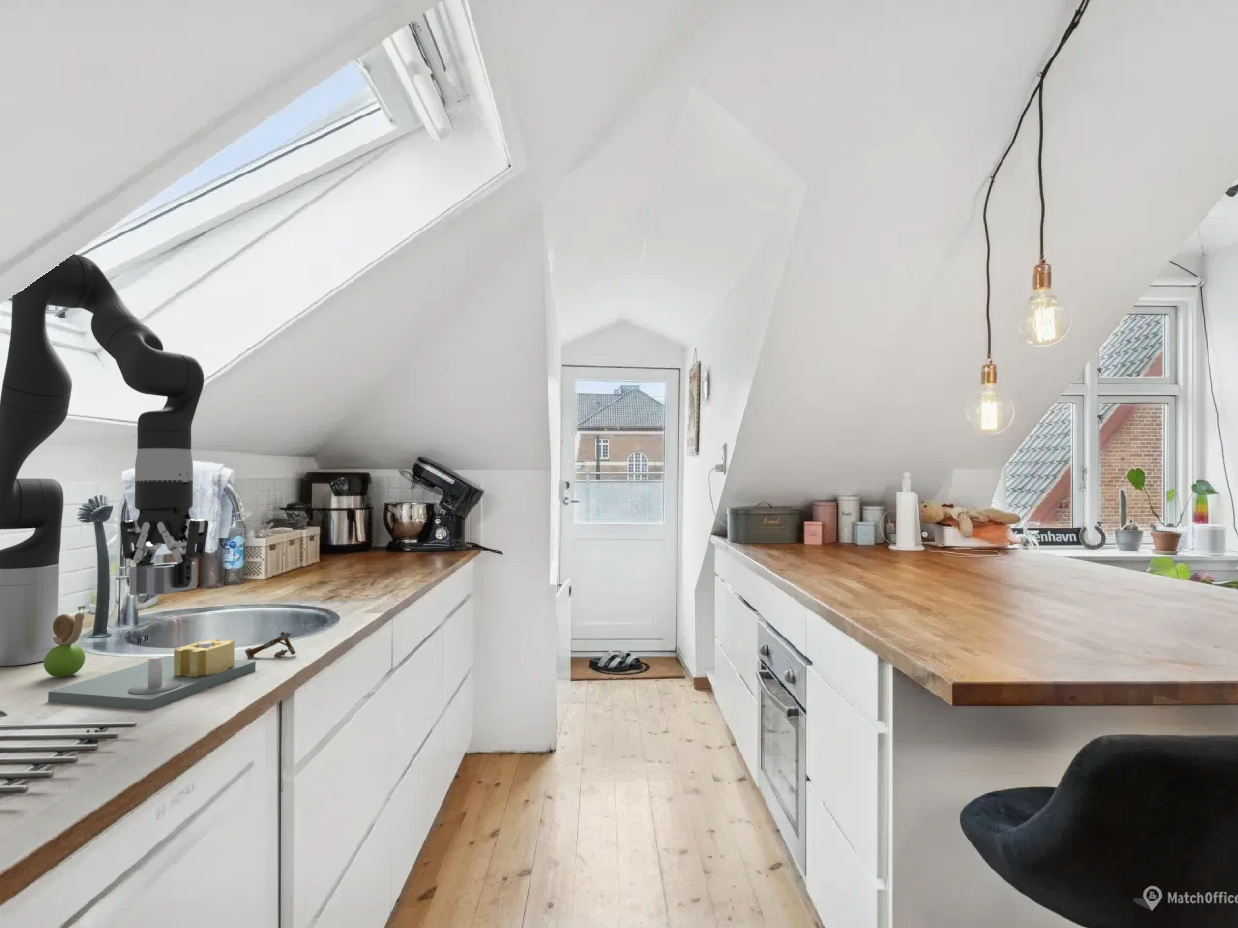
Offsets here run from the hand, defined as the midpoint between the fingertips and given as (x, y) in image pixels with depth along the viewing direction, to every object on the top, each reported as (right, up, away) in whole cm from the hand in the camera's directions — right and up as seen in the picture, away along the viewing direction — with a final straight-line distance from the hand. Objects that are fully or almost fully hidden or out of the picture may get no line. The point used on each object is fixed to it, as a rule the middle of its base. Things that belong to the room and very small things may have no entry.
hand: (163, 586), depth 105 cm
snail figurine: (-22, -17, +9) cm, 29 cm away
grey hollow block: (0, -1, 0) cm, 1 cm away
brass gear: (+2, -15, +7) cm, 17 cm away
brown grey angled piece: (+5, -17, +22) cm, 29 cm away
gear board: (-4, -17, +4) cm, 18 cm away
